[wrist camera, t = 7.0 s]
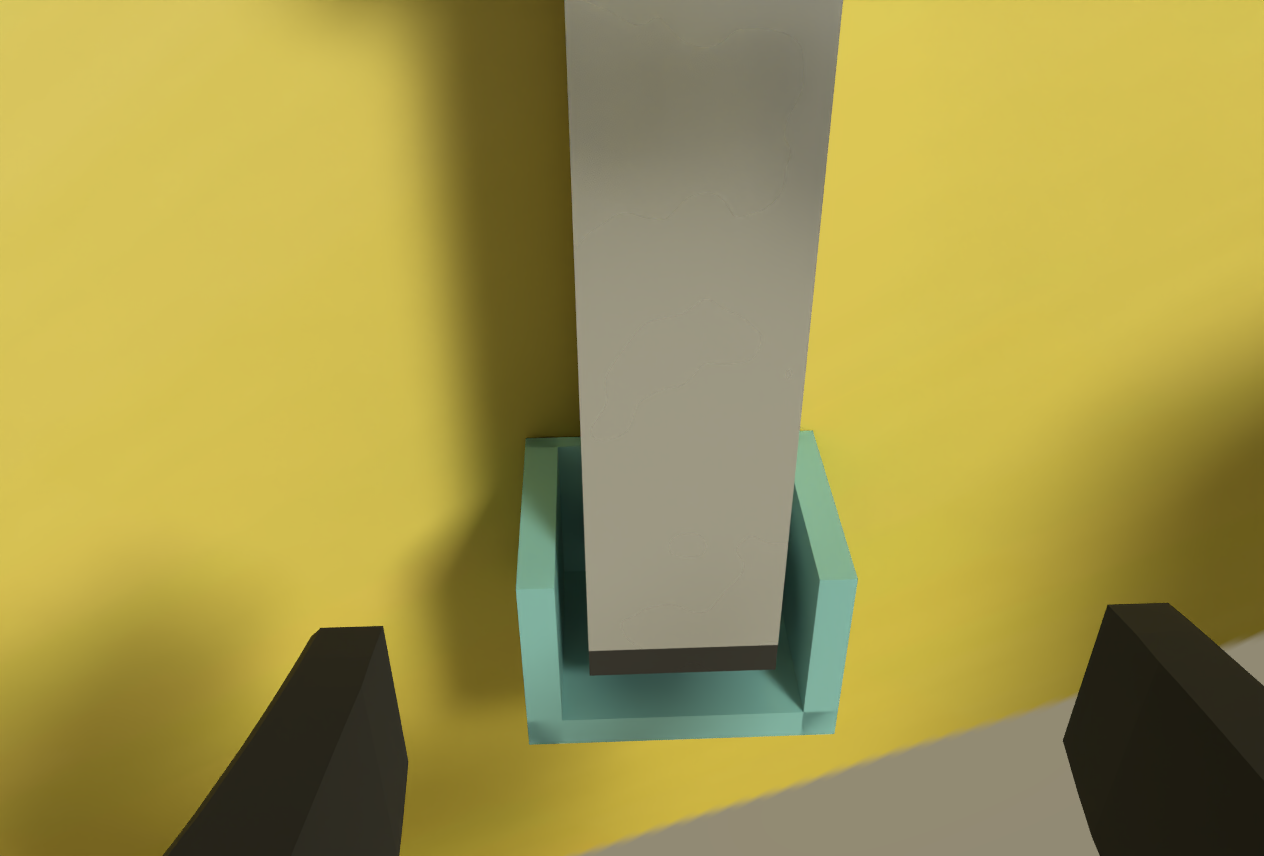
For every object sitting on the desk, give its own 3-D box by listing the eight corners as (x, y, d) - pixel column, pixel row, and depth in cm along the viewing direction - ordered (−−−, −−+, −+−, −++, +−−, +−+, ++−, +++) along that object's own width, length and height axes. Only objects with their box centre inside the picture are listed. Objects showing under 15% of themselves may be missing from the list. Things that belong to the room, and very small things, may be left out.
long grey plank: (816, -314, 14) (873, -305, 11) (751, 547, 22) (775, 669, 19) (557, -312, 14) (552, -304, 11) (587, 552, 22) (589, 675, 19)
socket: (812, 430, 21) (857, 578, 18) (796, 576, 23) (834, 733, 20) (525, 438, 21) (515, 589, 17) (536, 584, 23) (529, 744, 19)
